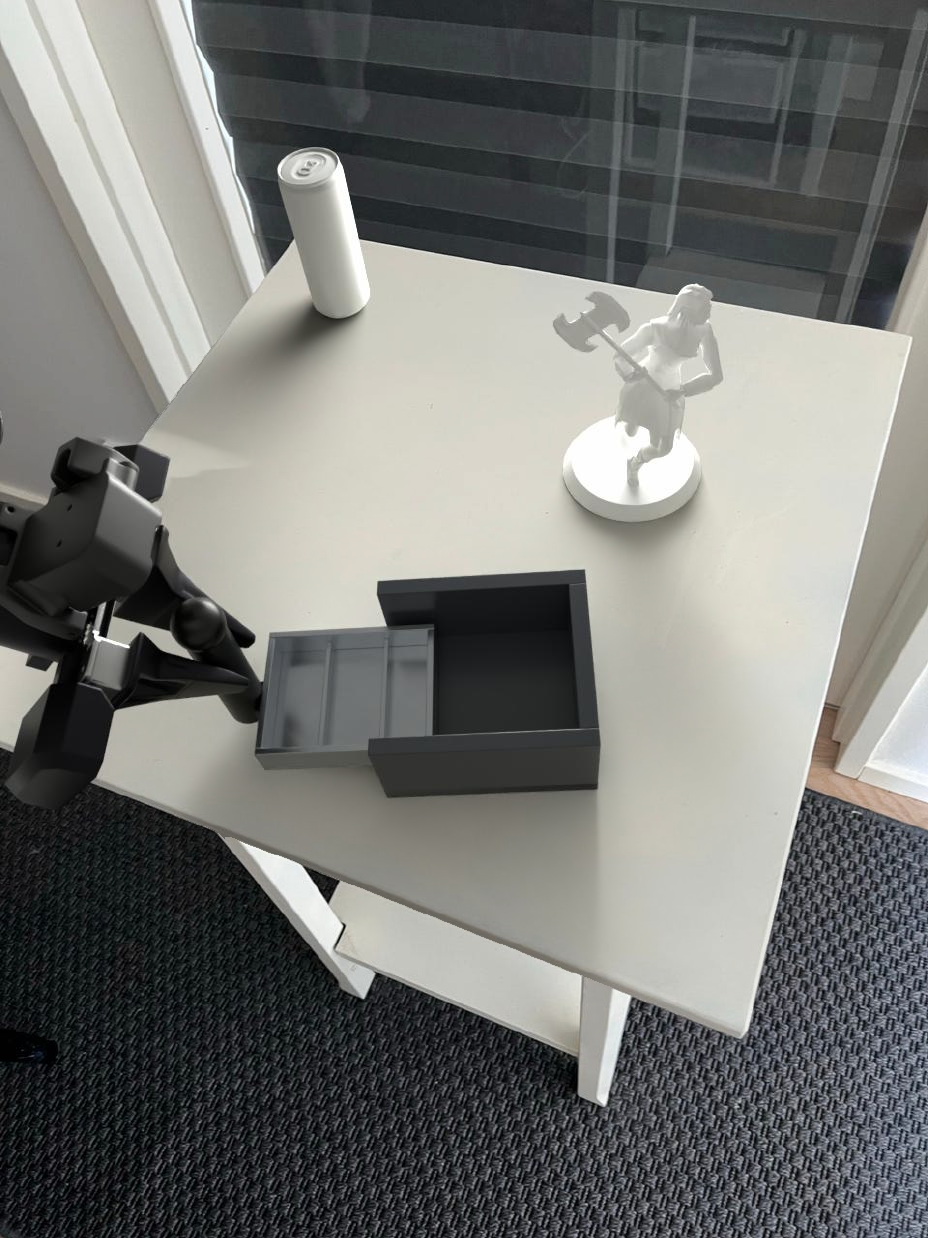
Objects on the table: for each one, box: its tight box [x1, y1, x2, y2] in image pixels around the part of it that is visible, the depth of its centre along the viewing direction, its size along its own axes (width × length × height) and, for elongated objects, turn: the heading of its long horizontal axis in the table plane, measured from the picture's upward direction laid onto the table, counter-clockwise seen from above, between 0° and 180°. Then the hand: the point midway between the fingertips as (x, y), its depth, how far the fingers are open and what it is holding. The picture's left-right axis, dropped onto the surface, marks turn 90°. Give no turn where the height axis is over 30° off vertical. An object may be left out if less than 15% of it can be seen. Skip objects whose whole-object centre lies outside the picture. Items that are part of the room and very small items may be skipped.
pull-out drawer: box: [170, 598, 439, 771], centre depth 51 cm, size 13×8×11 cm, turn 90°
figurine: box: [552, 282, 724, 523], centre depth 57 cm, size 10×10×18 cm
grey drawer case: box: [368, 568, 602, 799], centre depth 53 cm, size 12×11×6 cm
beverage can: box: [276, 146, 371, 319], centre depth 72 cm, size 5×5×12 cm
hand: (249, 664), depth 51 cm, fingers closed on pull-out drawer, 2 cm apart
